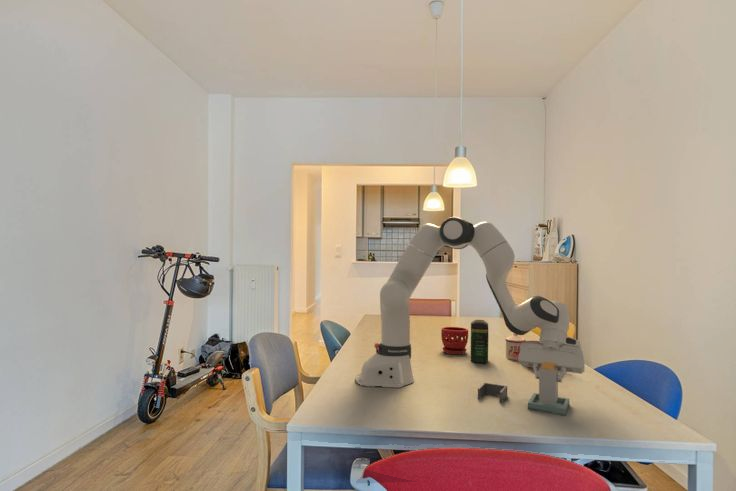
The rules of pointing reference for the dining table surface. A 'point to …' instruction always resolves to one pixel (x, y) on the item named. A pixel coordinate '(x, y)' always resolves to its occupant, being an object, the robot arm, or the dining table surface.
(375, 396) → the dining table surface
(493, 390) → the bay
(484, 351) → the coffee jar
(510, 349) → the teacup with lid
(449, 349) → the plant pot
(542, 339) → the robot arm
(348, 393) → the dining table surface
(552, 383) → the grey pillar orange cap
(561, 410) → the tray
